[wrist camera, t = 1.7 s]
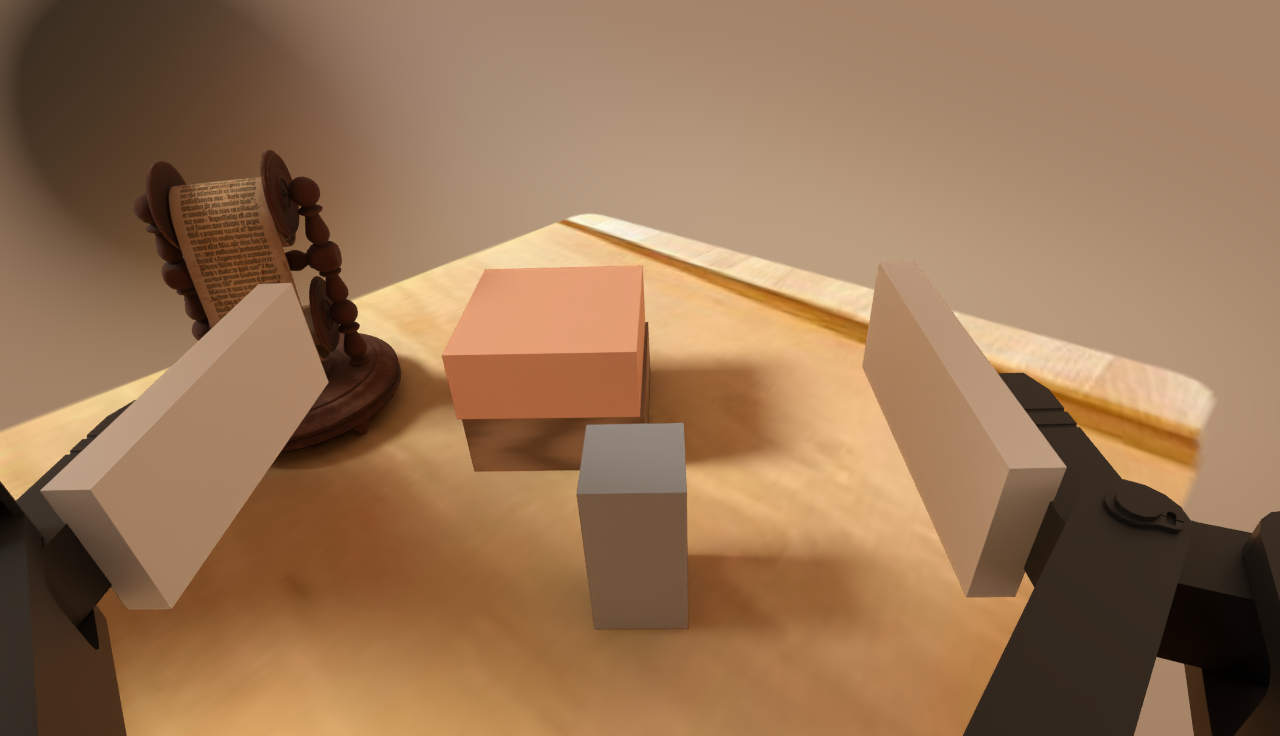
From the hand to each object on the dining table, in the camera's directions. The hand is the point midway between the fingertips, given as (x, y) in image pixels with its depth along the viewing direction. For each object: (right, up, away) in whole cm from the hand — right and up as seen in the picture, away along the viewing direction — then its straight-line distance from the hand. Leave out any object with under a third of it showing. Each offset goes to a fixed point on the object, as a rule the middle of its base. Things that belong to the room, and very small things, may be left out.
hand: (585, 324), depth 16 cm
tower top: (-5, -1, +34) cm, 34 cm away
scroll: (-25, -4, +39) cm, 47 cm away
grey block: (+1, -14, +23) cm, 27 cm away
